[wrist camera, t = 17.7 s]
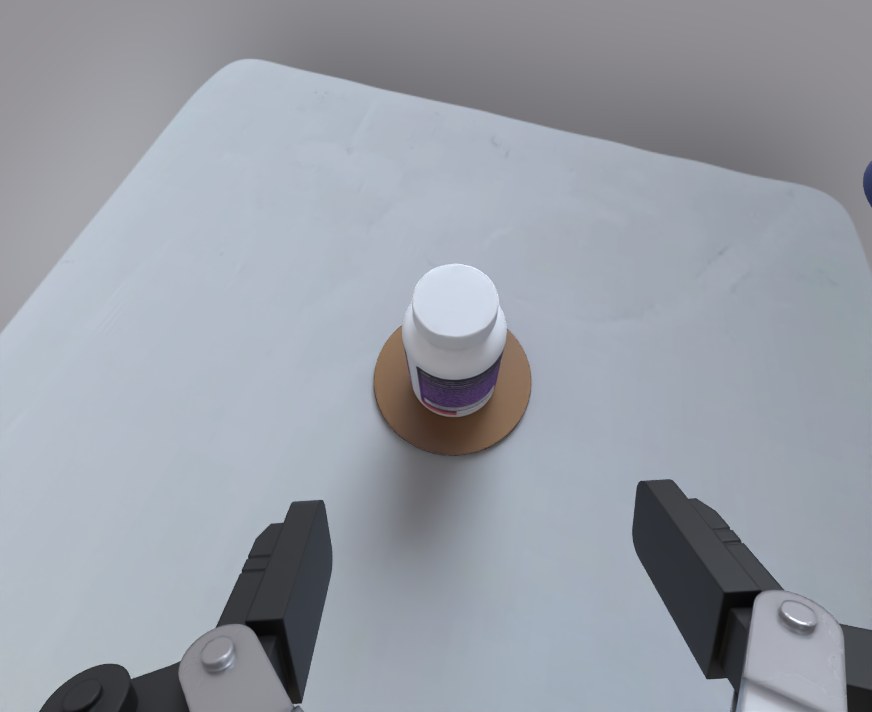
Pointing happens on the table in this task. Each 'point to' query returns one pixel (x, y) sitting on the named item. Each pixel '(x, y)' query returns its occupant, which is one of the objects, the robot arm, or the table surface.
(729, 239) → the table surface
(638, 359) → the table surface
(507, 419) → the coaster
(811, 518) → the table surface
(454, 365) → the pill bottle
